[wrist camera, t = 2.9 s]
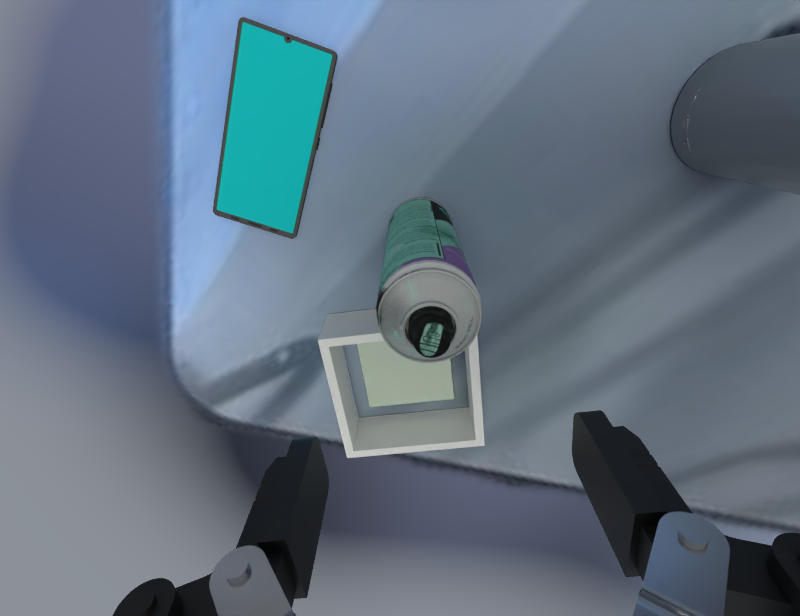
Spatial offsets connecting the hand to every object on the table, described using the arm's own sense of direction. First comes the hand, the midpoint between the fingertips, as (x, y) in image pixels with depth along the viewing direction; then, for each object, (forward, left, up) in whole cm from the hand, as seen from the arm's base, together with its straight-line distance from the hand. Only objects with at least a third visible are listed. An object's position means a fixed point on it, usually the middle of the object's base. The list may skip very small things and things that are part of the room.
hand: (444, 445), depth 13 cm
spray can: (0, 0, -27) cm, 27 cm away
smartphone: (+11, -9, -27) cm, 31 cm away
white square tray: (+3, +14, -27) cm, 30 cm away
